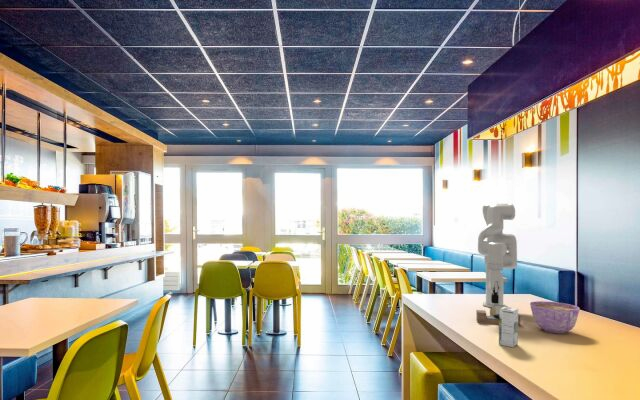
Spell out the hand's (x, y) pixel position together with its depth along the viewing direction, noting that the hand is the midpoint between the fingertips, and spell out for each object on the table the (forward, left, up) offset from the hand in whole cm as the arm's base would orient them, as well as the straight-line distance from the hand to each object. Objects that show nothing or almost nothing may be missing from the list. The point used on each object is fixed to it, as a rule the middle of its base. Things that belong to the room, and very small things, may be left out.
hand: (494, 302), depth 222 cm
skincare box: (+1, 0, -6) cm, 6 cm away
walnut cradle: (+11, 0, -8) cm, 13 cm away
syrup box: (+50, -1, -8) cm, 50 cm away
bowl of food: (+19, +23, -8) cm, 31 cm away
